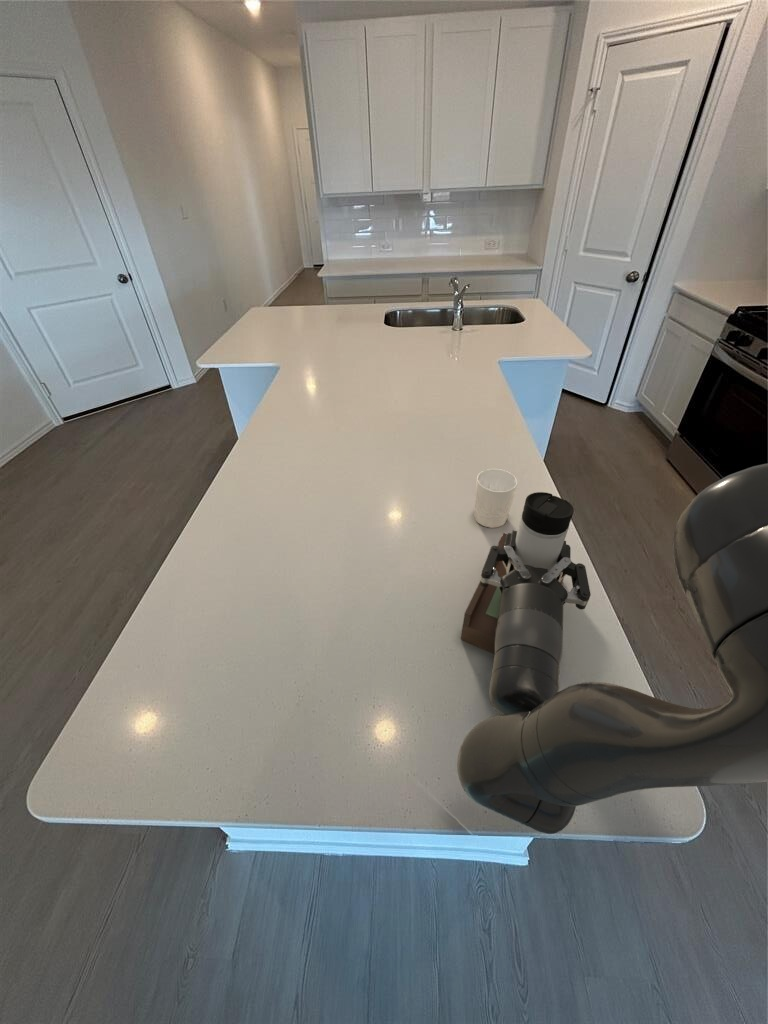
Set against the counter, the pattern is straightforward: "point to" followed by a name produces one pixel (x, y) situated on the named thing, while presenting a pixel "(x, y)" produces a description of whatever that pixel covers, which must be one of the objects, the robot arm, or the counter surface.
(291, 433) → the counter surface
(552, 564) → the travel mug
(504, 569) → the wooden coaster base
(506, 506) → the white cup
